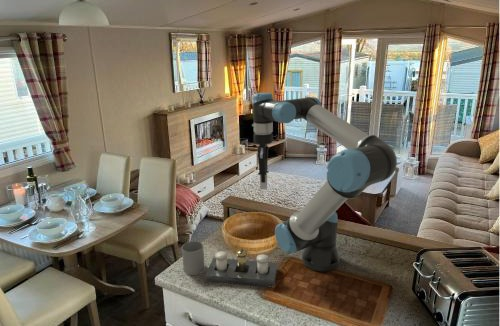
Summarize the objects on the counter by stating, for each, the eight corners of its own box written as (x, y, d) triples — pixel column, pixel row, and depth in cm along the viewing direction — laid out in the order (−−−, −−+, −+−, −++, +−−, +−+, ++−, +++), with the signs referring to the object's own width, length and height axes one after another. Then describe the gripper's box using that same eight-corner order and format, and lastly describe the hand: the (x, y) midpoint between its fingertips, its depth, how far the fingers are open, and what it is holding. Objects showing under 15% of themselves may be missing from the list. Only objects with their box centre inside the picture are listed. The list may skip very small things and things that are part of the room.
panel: (277, 269, 147) (277, 262, 146) (274, 287, 136) (274, 280, 135) (213, 264, 151) (213, 257, 150) (205, 282, 140) (205, 275, 139)
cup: (200, 275, 144) (198, 253, 141) (180, 273, 145) (178, 251, 142) (207, 263, 152) (205, 242, 149) (188, 262, 153) (186, 240, 150)
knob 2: (269, 272, 144) (269, 254, 141) (268, 279, 139) (268, 261, 137) (257, 272, 145) (257, 253, 142) (256, 279, 140) (255, 260, 138)
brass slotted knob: (248, 265, 144) (247, 248, 142) (246, 271, 140) (245, 254, 138) (238, 264, 145) (237, 247, 142) (235, 270, 141) (235, 253, 139)
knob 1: (229, 269, 146) (228, 251, 144) (226, 276, 142) (225, 258, 140) (217, 268, 147) (216, 251, 145) (214, 275, 143) (213, 257, 140)
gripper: (256, 129, 153) (256, 182, 160) (251, 136, 140) (252, 194, 147) (274, 129, 151) (274, 183, 158) (270, 136, 139) (270, 195, 146)
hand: (263, 188), depth 153 cm, fingers closed
